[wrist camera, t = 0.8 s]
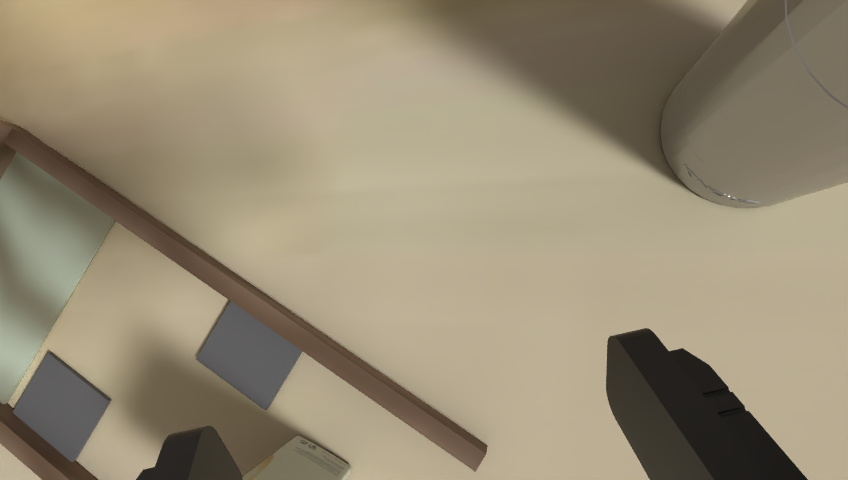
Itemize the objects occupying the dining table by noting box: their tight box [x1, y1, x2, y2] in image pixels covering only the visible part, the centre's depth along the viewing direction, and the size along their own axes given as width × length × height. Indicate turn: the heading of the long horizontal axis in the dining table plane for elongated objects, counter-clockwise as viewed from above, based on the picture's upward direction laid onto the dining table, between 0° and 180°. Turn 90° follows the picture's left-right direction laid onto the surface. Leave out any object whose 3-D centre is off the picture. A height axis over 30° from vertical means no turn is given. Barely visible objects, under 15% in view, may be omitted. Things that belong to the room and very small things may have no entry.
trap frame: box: [0, 121, 487, 480], centre depth 33 cm, size 18×41×3 cm, turn 58°
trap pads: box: [12, 301, 302, 462], centre depth 35 cm, size 16×16×1 cm
